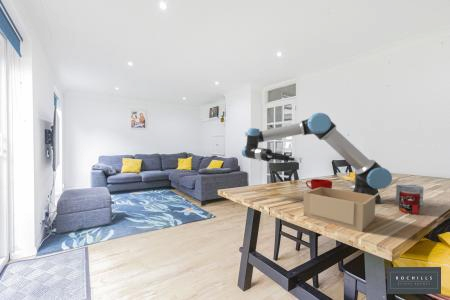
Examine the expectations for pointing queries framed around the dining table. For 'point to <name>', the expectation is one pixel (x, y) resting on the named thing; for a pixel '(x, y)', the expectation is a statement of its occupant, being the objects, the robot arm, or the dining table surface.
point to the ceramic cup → (319, 183)
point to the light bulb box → (409, 187)
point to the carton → (340, 207)
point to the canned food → (409, 201)
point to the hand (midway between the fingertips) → (300, 160)
